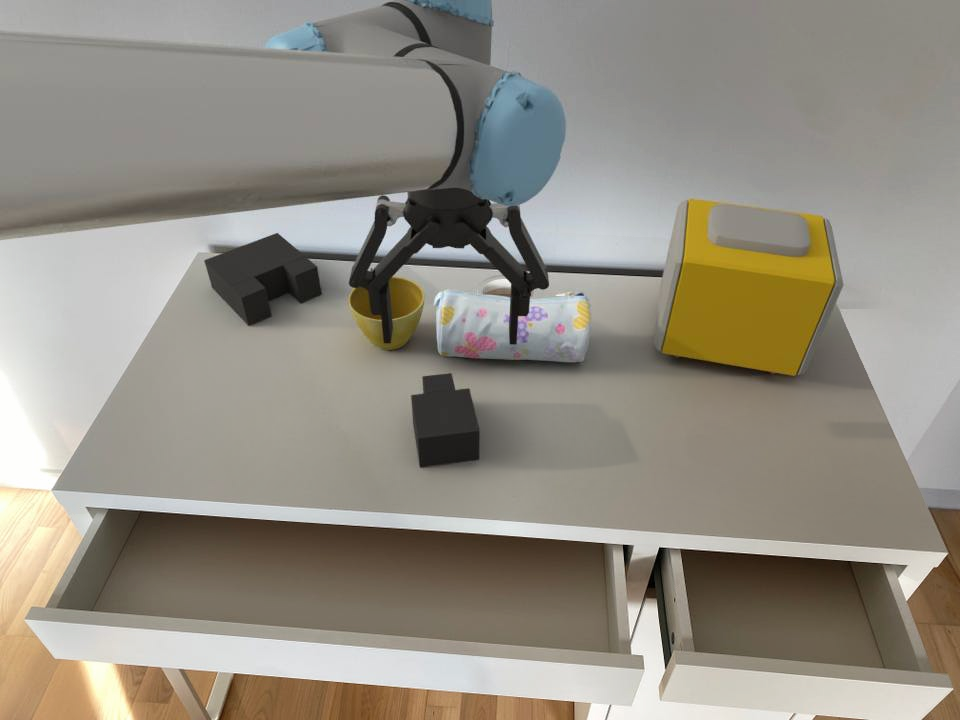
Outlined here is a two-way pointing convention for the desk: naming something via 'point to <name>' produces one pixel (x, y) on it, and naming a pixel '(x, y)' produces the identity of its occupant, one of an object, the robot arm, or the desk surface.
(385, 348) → the flower pot
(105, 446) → the desk surface
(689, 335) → the alarm clock
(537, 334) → the pencil case
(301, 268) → the notch pad
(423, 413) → the tab pad
